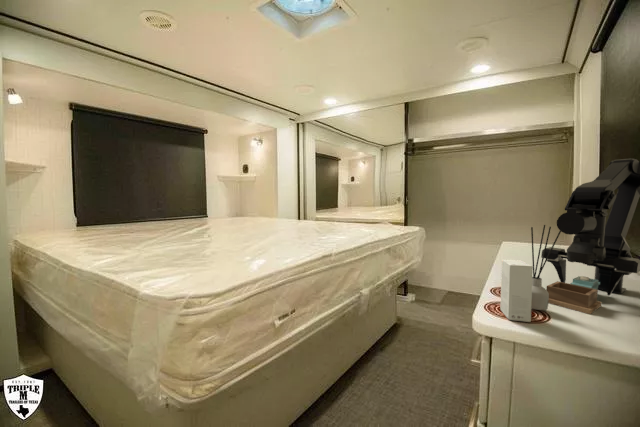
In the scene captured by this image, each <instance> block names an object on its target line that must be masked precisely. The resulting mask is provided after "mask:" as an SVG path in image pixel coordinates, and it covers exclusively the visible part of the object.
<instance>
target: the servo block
mask: <svg viewBox="0 0 640 427" xmlns="http://www.w3.org/2000/svg"><path fill="white" fill-rule="evenodd" d="M569 284H573V285H578V286H582V287H587V288H592V289H596V290H598V291H599V289H598V285H600V282H598V280H596V279H594V278H589V277H588V276H583V275H581V276H579V275H578V276H577V277H576V276H575V277H574V278H572V282H570V283H569Z"/></svg>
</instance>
